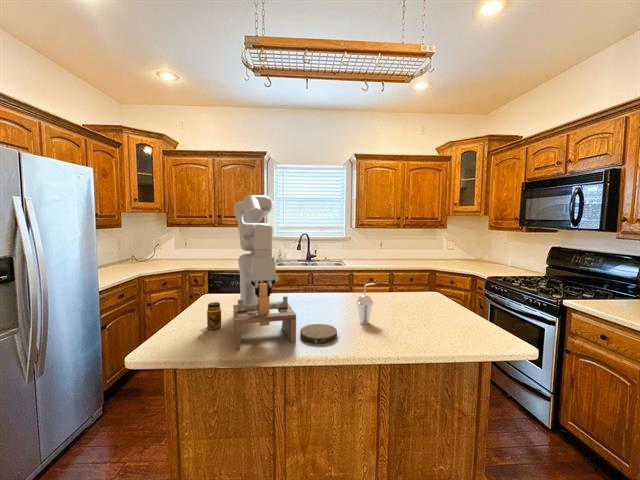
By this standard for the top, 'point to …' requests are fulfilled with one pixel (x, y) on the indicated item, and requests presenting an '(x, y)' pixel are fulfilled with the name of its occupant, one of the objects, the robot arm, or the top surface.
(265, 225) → the robot arm
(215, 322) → the condiment
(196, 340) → the top surface
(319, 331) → the brown round disc
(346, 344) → the top surface
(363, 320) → the cup with straw
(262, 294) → the l-shaped step block
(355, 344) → the top surface
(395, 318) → the top surface
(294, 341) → the shelf
